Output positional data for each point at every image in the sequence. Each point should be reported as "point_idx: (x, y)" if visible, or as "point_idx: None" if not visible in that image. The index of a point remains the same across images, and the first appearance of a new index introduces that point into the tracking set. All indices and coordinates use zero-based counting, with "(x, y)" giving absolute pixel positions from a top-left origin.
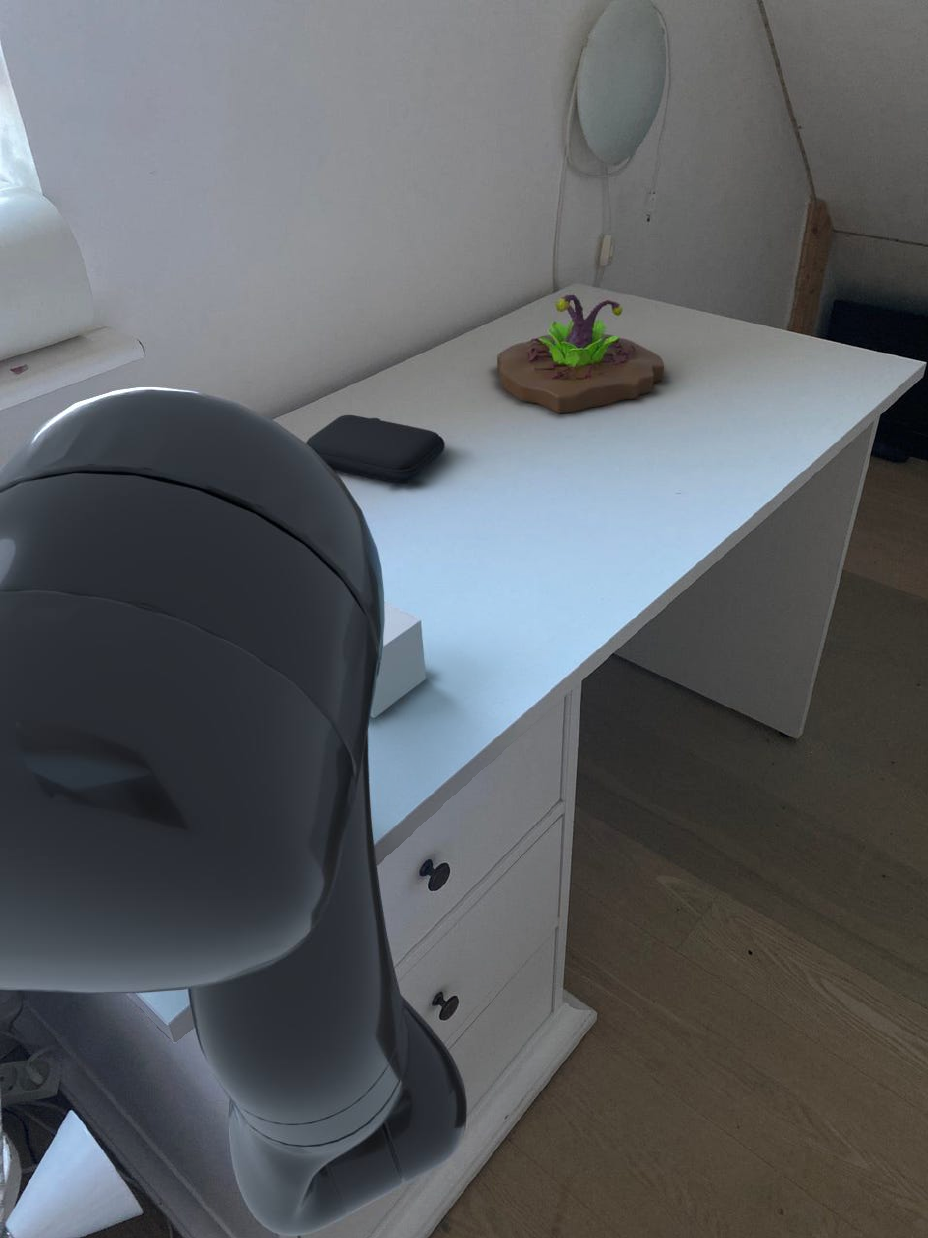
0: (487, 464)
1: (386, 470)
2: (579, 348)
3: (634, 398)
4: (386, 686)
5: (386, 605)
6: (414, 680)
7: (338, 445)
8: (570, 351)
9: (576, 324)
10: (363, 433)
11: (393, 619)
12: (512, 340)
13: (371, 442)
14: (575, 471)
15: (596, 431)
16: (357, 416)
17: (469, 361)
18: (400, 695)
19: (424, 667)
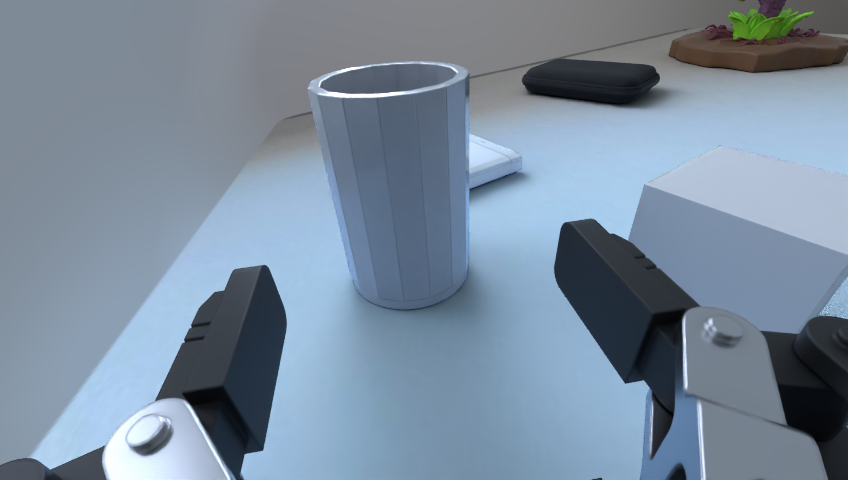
0: (704, 96)
1: (610, 87)
2: (779, 16)
3: (828, 64)
4: (805, 324)
5: (784, 163)
6: (816, 315)
7: (559, 70)
8: (763, 22)
9: (769, 2)
10: (580, 65)
11: (831, 184)
12: (668, 45)
13: (591, 69)
14: (818, 102)
15: (808, 81)
16: (569, 59)
17: (639, 52)
18: None
19: (834, 293)
